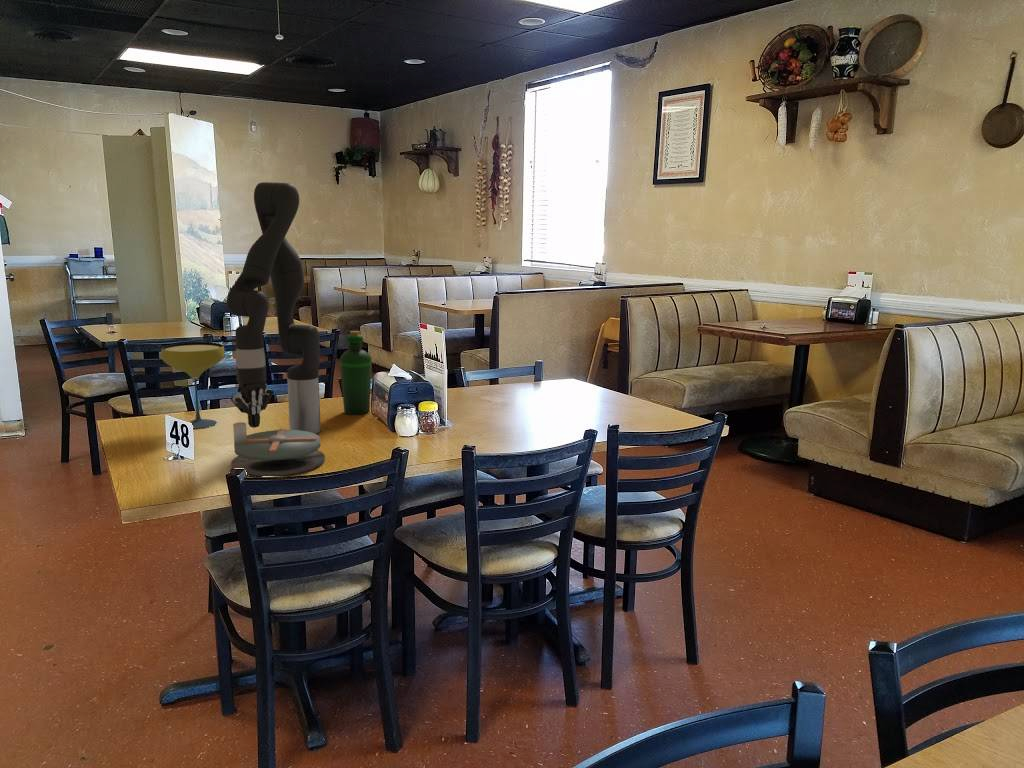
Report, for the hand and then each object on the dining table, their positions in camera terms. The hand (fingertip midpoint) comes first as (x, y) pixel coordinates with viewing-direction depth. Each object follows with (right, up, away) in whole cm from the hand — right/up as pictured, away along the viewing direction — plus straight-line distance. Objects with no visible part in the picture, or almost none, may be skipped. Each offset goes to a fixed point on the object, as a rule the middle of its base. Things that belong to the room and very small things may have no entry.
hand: (254, 426), depth 200 cm
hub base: (+8, -10, -3) cm, 13 cm away
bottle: (+17, +2, +52) cm, 54 cm away
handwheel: (+8, -5, -4) cm, 10 cm away
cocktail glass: (-29, -1, +33) cm, 44 cm away
